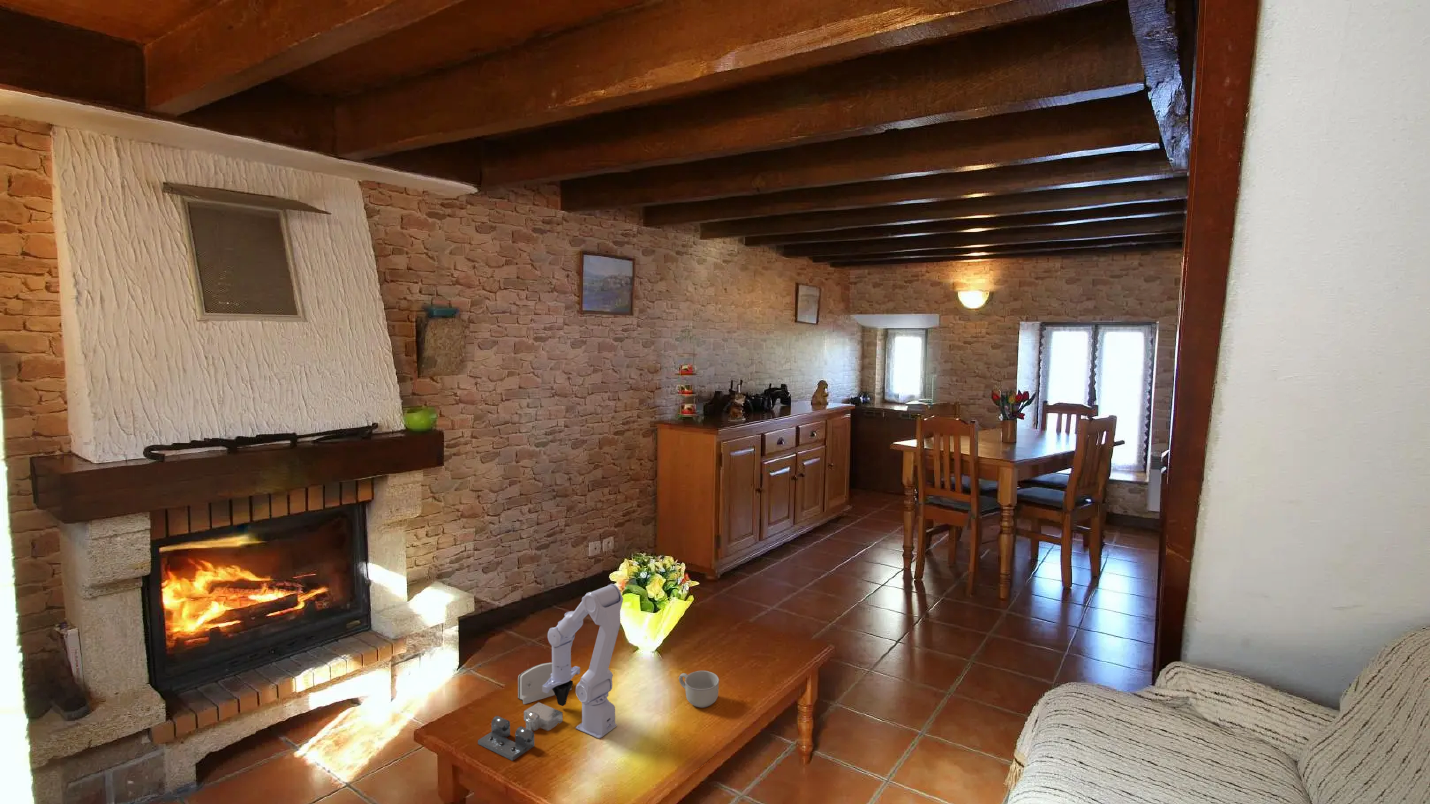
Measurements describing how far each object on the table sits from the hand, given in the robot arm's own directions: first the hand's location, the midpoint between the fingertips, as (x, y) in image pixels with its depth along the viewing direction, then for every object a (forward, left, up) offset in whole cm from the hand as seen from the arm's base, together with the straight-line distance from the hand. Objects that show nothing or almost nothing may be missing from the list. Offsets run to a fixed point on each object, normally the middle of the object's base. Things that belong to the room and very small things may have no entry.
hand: (561, 704), depth 218 cm
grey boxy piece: (0, +10, -1) cm, 10 cm away
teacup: (-33, -27, -2) cm, 43 cm away
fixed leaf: (0, +21, -1) cm, 21 cm away
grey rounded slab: (+12, -4, -2) cm, 13 cm away
